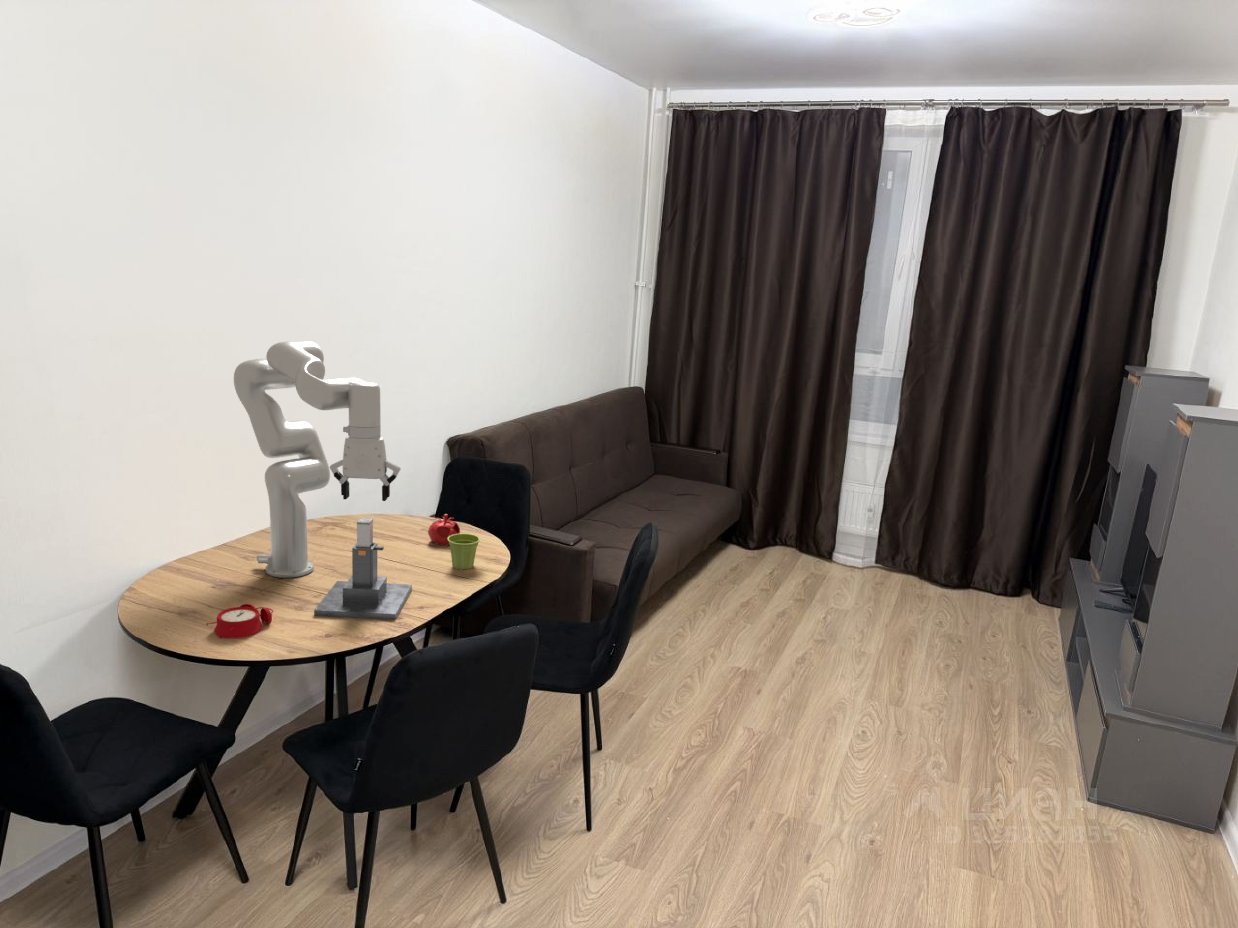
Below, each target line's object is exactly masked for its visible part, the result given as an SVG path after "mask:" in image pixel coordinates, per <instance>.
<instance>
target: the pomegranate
mask: <svg viewBox="0 0 1238 928" xmlns="http://www.w3.org/2000/svg"><path fill="white" fill-rule="evenodd" d="M441 517H442V518H443V519H440V518H439V517H436V518H435V521H433V522H432V523H431V525H429V528H428V529H427V533H428V536H429V539H430V541H431V542H432V543H434V544H436V545H438V546H439V545H440V546H450V545H449V541H448V537H449V536H451V535H454V534H461V529H460V526H459V524H458V522H457V521H453V520H454V517H449V518H448V514H447V513H445V514H443V516H441ZM437 519H438V520H437Z"/></svg>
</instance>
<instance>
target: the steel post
mask: <svg viewBox="0 0 1238 928" xmlns="http://www.w3.org/2000/svg"><path fill="white" fill-rule="evenodd" d="M373 522H374V518H362V517H361V518H359V519H358V520H357V521H356V543H357V548H372V546H373V543H374V531H373V530H374V525H373V524H374V523H373Z"/></svg>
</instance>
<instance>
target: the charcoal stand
mask: <svg viewBox="0 0 1238 928" xmlns="http://www.w3.org/2000/svg"><path fill="white" fill-rule="evenodd" d="M384 547H385V546H383V545H378V542H373V546H372V548H357V542H355V544H354V545H353V546H352V548H351V552H352V553H351V554H352V556H351V558H352V561H351V562H352V572H351V573H352V575H351V576H350V578H348V580H347V581H346V580H345V581H343V580H337V581H336V582H335V583H334V584H333V585H332V587H331V588H330V589H329V591H328V592H327V593H326V595H324V597H323V599H322V600H320V602H319V604H318V605H317V606H316V607H315V609H313V617H327V618H328V617H332V618H334V617H335V618H350V619H351V618H352V619H355V618H356V619H370V620H371V619H373V620H374V619H375V620H393V619H397V617H399V614H400V612H401V610H402V609H403V606H404V605H405V603H406V601H407V600H408V598H409V596H410V594H411V592H412V590H413V585H412V584H409V583H388V582H387V581H388V579H387V578H388V577H387V576H378V551H383V550H385V549H384Z"/></svg>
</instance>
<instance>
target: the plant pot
mask: <svg viewBox="0 0 1238 928" xmlns="http://www.w3.org/2000/svg"><path fill="white" fill-rule="evenodd" d="M448 541H449V545H448V546H449V547H450V556H451V565H452V567H453V568H454V569H455V570H456V569H457V570H460V569H462V570H464V569H465V570H470V569H472V568H474V564H475V560H476V559H475V558H476V553H477V548H478V545H479V543H480V541H481V538H480V537H479V536H478V535H476V534H472V533H460V534H454V535H451V536H449V537H448ZM469 568H470V569H469Z"/></svg>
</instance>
